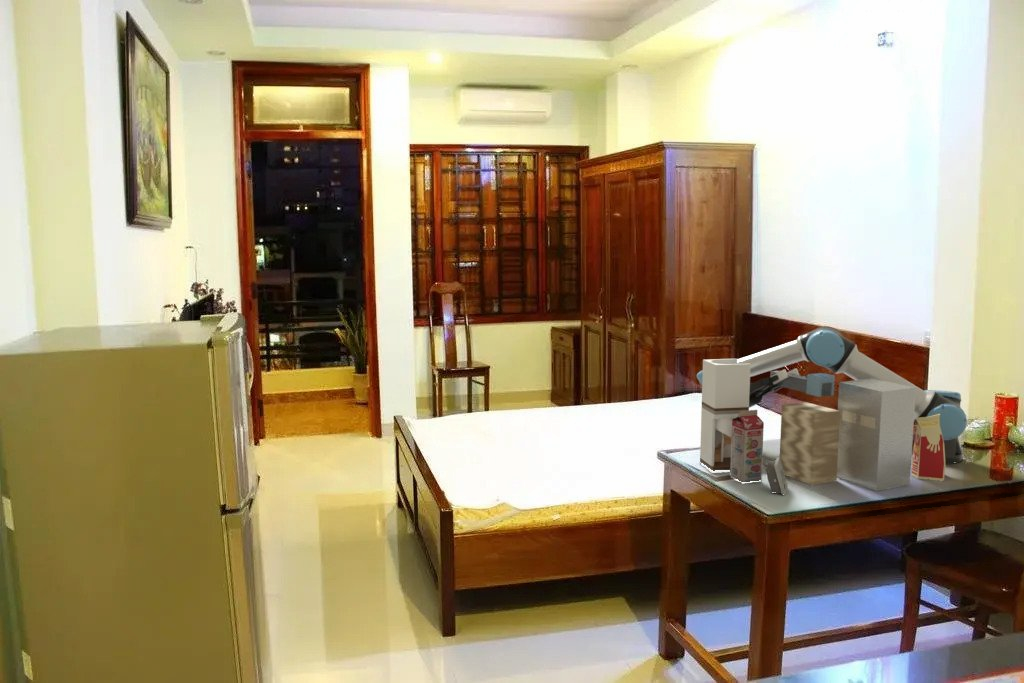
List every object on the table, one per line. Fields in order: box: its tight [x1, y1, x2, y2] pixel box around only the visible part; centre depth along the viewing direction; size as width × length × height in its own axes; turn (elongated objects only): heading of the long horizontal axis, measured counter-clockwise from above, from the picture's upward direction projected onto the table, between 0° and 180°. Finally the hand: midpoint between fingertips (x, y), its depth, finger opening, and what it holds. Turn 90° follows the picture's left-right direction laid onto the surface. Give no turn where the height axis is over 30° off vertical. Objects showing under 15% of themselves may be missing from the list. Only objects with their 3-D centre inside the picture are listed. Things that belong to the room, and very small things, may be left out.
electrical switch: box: [764, 457, 788, 495], centre depth 238 cm, size 9×5×9 cm, turn 157°
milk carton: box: [910, 414, 947, 482], centre depth 250 cm, size 9×9×20 cm
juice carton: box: [729, 409, 765, 482], centre depth 247 cm, size 7×7×22 cm
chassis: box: [837, 379, 916, 492], centre depth 245 cm, size 16×14×30 cm
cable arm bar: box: [769, 370, 836, 398], centre depth 252 cm, size 22×6×6 cm, turn 24°
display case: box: [699, 358, 751, 471], centre depth 259 cm, size 11×11×35 cm
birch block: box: [779, 401, 840, 486], centre depth 250 cm, size 14×10×22 cm
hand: (791, 372), depth 255 cm, fingers closed on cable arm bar, 4 cm apart
